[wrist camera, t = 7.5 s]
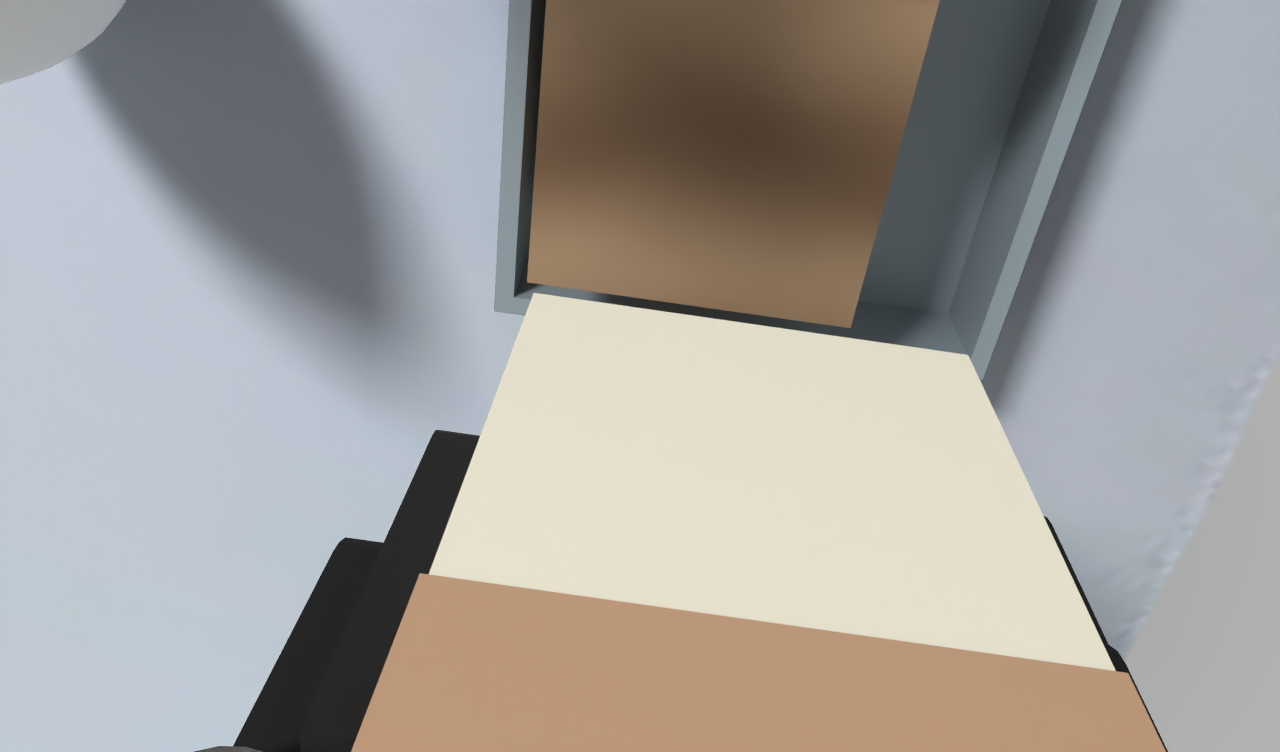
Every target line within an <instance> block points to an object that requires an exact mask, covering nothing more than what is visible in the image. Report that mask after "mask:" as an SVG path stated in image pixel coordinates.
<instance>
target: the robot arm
mask: <svg viewBox="0 0 1280 752" xmlns="http://www.w3.org/2000/svg"><path fill="white" fill-rule="evenodd" d="M479 438H480V436H477V435H470V434H463V433H456V432H449V431H441V430H436V431H435V432H434V434H433V435H432V437H431V439H430V442H429V444H428V446H427V448H426V450H425V453H424V455H423V457H422V459H421V461H420V464H419V466H418V468H417V470H416V473H415V475H414V477H413V479H412V481H411V484H410V486H409V488H408V490H407V493H406V495H405V497H404V499H403V501H402V504H401V506H400V508H399V510H398V512H397V515H396V517H395V519H394V521H393V524H392V526H391V528H390V530H389V532H388V535H387V537H386V539H385V541H384V543H381V542H374V541H367V540H359V539H352V538H344V539H343V540H341V541H340V542H339V543H338V545H337V547H336V548H335V550H334V551H333V553H332V555H331V557H330V559H329V561H328V563H327V565H326V567H325V568H324V570H323V572H322V574H321V576H320V578H319V580H318V582H317V584H316V586H315V588H314V590H313V592H312V594H311V596H310V598H309V600H308V602H307V604H306V605H305V607H304V609H303V611H302V613H301V615H300V617H299V619H298V621H297V623H296V625H295V627H294V629H293V631H292V633H291V635H290V637H289V639H288V640H287V642H286V644H285V646H284V648H283V650H282V652H281V654H280V656H279V658H278V660H277V662H276V664H275V666H274V668H273V670H272V672H271V674H270V675H269V677H268V679H267V681H266V683H265V685H264V687H263V689H262V691H261V693H260V695H259V697H258V699H257V701H256V703H255V705H254V707H253V709H252V710H251V712H250V714H249V716H248V718H247V720H246V722H245V724H244V726H243V728H242V730H241V732H240V734H239V736H238V738H237V740H236V742H235V744H234V746H233V747H230V746H218V747H213V748H209V749H204V750H200V751H195V752H351V750H352V748H353V745H354V743H355V740H356V738H357V735H358V732H359V730H360V727H361V725H362V722H363V719H364V717H365V714H366V712H367V709H368V706H369V704H370V701H371V699H372V696H373V693H374V691H375V688H376V686H377V683H378V680H379V678H380V675H381V673H382V670H383V667H384V665H385V662H386V660H387V657H388V654H389V652H390V649H391V647H392V644H393V641H394V639H395V636H396V634H397V631H398V629H399V626H400V623H401V621H402V618H403V616H404V613H405V610H406V608H407V605H408V603H409V600H410V597H411V595H412V592H413V590H414V587H415V584H416V582H417V579H418V577H419V574H420V573H421V574H429V572H430V569H431V567H432V564H433V561H434V559H435V556H436V553H437V551H438V548H439V545H440V542H441V540H442V537H443V534H444V532H445V529H446V526H447V524H448V521H449V518H450V516H451V513H452V510H453V508H454V505H455V502H456V500H457V497H458V494H459V492H460V489H461V486H462V484H463V481H464V478H465V475H466V473H467V470H468V467H469V465H470V462H471V459H472V457H473V454H474V451H475V449H476V446H477V443H478V441H479ZM1044 518H1045V520H1046V523H1047V525H1048V527H1049V529H1050V531H1051V533H1052V535H1053V538H1054V540H1055V542H1056V544H1057V546H1058V548H1059V550H1060V553H1061V555H1062V557H1063V559H1064V561H1065V563H1066V565H1067V568H1068V570H1069V572H1070V574H1071V576H1072V578H1073V580H1074V583H1075V585H1076V587H1077V589H1078V591H1079V593H1080V595H1081V598H1082V600H1083V602H1084V604H1085V606H1086V608H1087V610H1088V613H1089V615H1090V617H1091V619H1092V621H1093V623H1094V625H1095V628H1096V630H1097V632H1098V634H1099V636H1100V638H1101V640H1102V642H1103V645H1104V647H1105V649H1106V651H1107V653H1108V655H1109V657H1110V660H1111V662H1112V664H1113V666H1114V668H1115V670H1116V671H1118V672H1125V673H1128V674H1129V676H1130V678H1131V680H1132V682H1133V684H1134V686H1135V688H1136V690H1137V692H1138V695H1139V697H1140V699H1141V701H1142V703H1143V705H1144V707H1145V709H1146V711H1147V713H1148V715H1149V717H1150V720H1151V722H1152V724H1153V726H1154V728H1155V730H1156V732H1157V734H1158V736H1159V738H1160V740H1161V742H1162V745H1163V747H1164V749H1165V751H1166V752H1168V751H1167V749H1166V747H1165V745H1164V743H1163V741H1162V738H1161V736H1160V734H1159V732H1158V730H1157V728H1156V726H1155V724H1154V722H1153V720H1152V718H1151V716H1150V714H1149V712H1148V709H1147V708H1146V705H1145V703H1144V701H1143V699H1142V697H1141V695H1140V693H1139V691H1138V689H1137V686H1136V685H1135V682H1134V680H1133V678H1132V676H1131V674H1130V672H1129V670H1128V668H1127V666H1126V664H1125V662H1124V661H1123V659H1122V657H1121V656H1120V654H1119V653H1118V651H1116V650H1115V649H1114V648H1112V647H1111V646H1109V645H1108V643H1107V641H1106V638H1105V636H1104V634H1103V632H1102V630H1101V628H1100V626H1099V624H1098V621H1097V619H1096V617H1095V615H1094V613H1093V611H1092V609H1091V607H1090V604H1089V602H1088V600H1087V598H1086V596H1085V594H1084V592H1083V590H1082V587H1081V585H1080V583H1079V581H1078V579H1077V577H1076V575H1075V573H1074V570H1073V568H1072V566H1071V564H1070V562H1069V560H1068V558H1067V556H1066V554H1065V551H1064V549H1063V547H1062V545H1061V543H1060V541H1059V539H1058V537H1057V534H1056V532H1055V530H1054V528H1053V526H1052V524H1051V522H1050V521H1049V520H1048V518H1047V517H1045V516H1044Z"/></svg>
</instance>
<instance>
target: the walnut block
mask: <svg viewBox="0 0 1280 752" xmlns="http://www.w3.org/2000/svg"><path fill="white" fill-rule="evenodd" d="M939 1H940V0H546V11H545V25H544V40H543V55H542V69H541V84H540V99H539V113H538V128H537V143H536V157H535V172H534V187H533V201H532V216H531V231H530V245H529V260H528V275H527V282H528V283H535V284H542V285H549V286H556V287H564V288H571V289H578V290H585V291H592V292H599V293H606V294H613V295H620V296H627V297H634V298H641V299H648V300H655V301H662V302H669V303H676V304H683V305H690V306H698V307H705V308H712V309H719V310H726V311H733V312H740V313H747V314H754V315H761V316H768V317H775V318H782V319H789V320H796V321H803V322H810V323H817V324H824V325H832V326H839V327H846V328H851V325H852V321H853V317H854V314H855V310H856V306H857V303H858V299H859V295H860V291H861V288H862V284H863V280H864V277H865V273H866V269H867V266H868V262H869V258H870V255H871V251H872V247H873V244H874V240H875V236H876V233H877V229H878V225H879V222H880V218H881V214H882V211H883V207H884V203H885V200H886V196H887V192H888V189H889V185H890V181H891V178H892V174H893V170H894V167H895V163H896V159H897V156H898V152H899V148H900V144H901V141H902V137H903V133H904V130H905V126H906V122H907V119H908V115H909V111H910V108H911V104H912V100H913V97H914V93H915V89H916V86H917V82H918V78H919V75H920V71H921V67H922V64H923V60H924V56H925V53H926V49H927V45H928V42H929V38H930V34H931V31H932V27H933V23H934V20H935V16H936V12H937V9H938V5H939Z"/></svg>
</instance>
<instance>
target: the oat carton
mask: <svg viewBox="0 0 1280 752" xmlns="http://www.w3.org/2000/svg"><path fill="white" fill-rule="evenodd" d="M351 752H1166V751H1165V749H1164V747H1163V745H1162V742H1161V740H1160V738H1159V736H1158V734H1157V732H1156V730H1155V728H1154V726H1153V724H1152V722H1151V720H1150V717H1149V715H1148V713H1147V711H1146V709H1145V707H1144V705H1143V703H1142V701H1141V699H1140V697H1139V695H1138V692H1137V690H1136V688H1135V686H1134V684H1133V682H1132V680H1131V678H1130V676H1129V674H1128V673H1125V672H1118V671H1116V670H1115V668H1114V666H1113V664H1112V662H1111V660H1110V657H1109V655H1108V653H1107V651H1106V649H1105V647H1104V645H1103V642H1102V640H1101V638H1100V636H1099V634H1098V632H1097V630H1096V628H1095V625H1094V623H1093V621H1092V619H1091V617H1090V615H1089V613H1088V610H1087V608H1086V606H1085V604H1084V602H1083V600H1082V598H1081V595H1080V593H1079V591H1078V589H1077V587H1076V585H1075V583H1074V580H1073V578H1072V576H1071V574H1070V572H1069V570H1068V568H1067V565H1066V563H1065V561H1064V559H1063V557H1062V555H1061V553H1060V550H1059V548H1058V546H1057V544H1056V542H1055V540H1054V538H1053V535H1052V533H1051V531H1050V529H1049V527H1048V525H1047V523H1046V520H1045V518H1044V516H1043V514H1042V512H1041V510H1040V508H1039V506H1038V503H1037V501H1036V499H1035V497H1034V495H1033V493H1032V491H1031V488H1030V486H1029V484H1028V482H1027V480H1026V478H1025V476H1024V473H1023V471H1022V469H1021V467H1020V465H1019V463H1018V461H1017V458H1016V456H1015V454H1014V452H1013V450H1012V448H1011V446H1010V443H1009V441H1008V439H1007V437H1006V435H1005V433H1004V431H1003V428H1002V426H1001V424H1000V422H999V420H998V418H997V416H996V413H995V411H994V409H993V407H992V405H991V403H990V401H989V398H988V396H987V394H986V392H985V390H984V388H983V386H982V384H981V381H980V379H979V377H978V375H977V373H976V371H975V369H974V366H973V364H972V362H971V360H970V358H969V356H968V355H965V354H958V353H951V352H944V351H937V350H930V349H923V348H916V347H909V346H902V345H895V344H888V343H881V342H874V341H867V340H860V339H853V338H846V337H839V336H832V335H825V334H818V333H811V332H804V331H797V330H790V329H783V328H776V327H769V326H762V325H755V324H748V323H741V322H734V321H727V320H720V319H713V318H706V317H699V316H692V315H685V314H678V313H671V312H664V311H657V310H650V309H643V308H636V307H629V306H623V305H616V304H609V303H602V302H595V301H588V300H581V299H574V298H567V297H560V296H553V295H546V294H539V293H533V296H532V299H531V301H530V304H529V307H528V309H527V312H526V315H525V317H524V320H523V323H522V325H521V328H520V331H519V333H518V336H517V339H516V342H515V344H514V347H513V350H512V352H511V355H510V358H509V360H508V363H507V366H506V368H505V371H504V374H503V376H502V379H501V382H500V384H499V387H498V390H497V392H496V395H495V398H494V400H493V403H492V406H491V409H490V411H489V414H488V417H487V419H486V422H485V425H484V427H483V430H482V433H481V435H480V438H479V441H478V443H477V446H476V449H475V451H474V454H473V457H472V459H471V462H470V465H469V467H468V470H467V473H466V475H465V478H464V481H463V484H462V486H461V489H460V492H459V494H458V497H457V500H456V502H455V505H454V508H453V510H452V513H451V516H450V518H449V521H448V524H447V526H446V529H445V532H444V534H443V537H442V540H441V542H440V545H439V548H438V551H437V553H436V556H435V559H434V561H433V564H432V567H431V569H430V572H429V574H421V573H420V574H419V577H418V579H417V582H416V584H415V587H414V590H413V592H412V595H411V597H410V600H409V603H408V605H407V608H406V610H405V613H404V616H403V618H402V621H401V623H400V626H399V629H398V631H397V634H396V636H395V639H394V641H393V644H392V647H391V649H390V652H389V654H388V657H387V660H386V662H385V665H384V667H383V670H382V673H381V675H380V678H379V680H378V683H377V686H376V688H375V691H374V693H373V696H372V699H371V701H370V704H369V706H368V709H367V712H366V714H365V717H364V719H363V722H362V725H361V727H360V730H359V732H358V735H357V738H356V740H355V743H354V745H353V748H352V750H351Z"/></svg>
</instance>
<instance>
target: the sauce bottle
mask: <svg viewBox="0 0 1280 752" xmlns="http://www.w3.org/2000/svg"><path fill="white" fill-rule="evenodd" d="M125 2H126V0H0V84H2V83H6V82H9V81H12V80H16V79H19V78H22V77H25V76H29V75H32V74H35V73H37V72H40V71H43V70H45V69H48V68H50V67H52V66H54V65H56V64H58V63H60V62H62V61H63V60H65V59H67V58H68V57H70V56H71V55H73V54H74V53H76V52H77V51H79V50H81V49H82V48H84V47H85V46H87V45H88V44H89V43H91V42H92V41H93V40H95V39H96V38H97V37H98V36H99V35H100V34H101V33H102V32H103V31H104V30H105V29H106V28H107V26H108V25H109V24H110V23H111V21H112V20H113V19H114V17H115V16H116V15H117V14H118V12H119V11H120V10H121V8H122V7H123V5H124V3H125Z"/></svg>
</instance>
